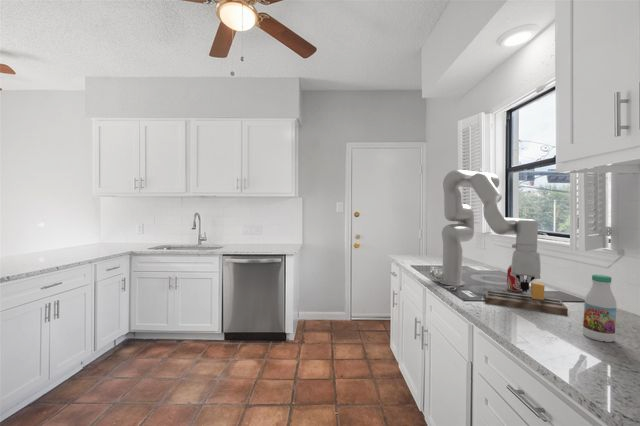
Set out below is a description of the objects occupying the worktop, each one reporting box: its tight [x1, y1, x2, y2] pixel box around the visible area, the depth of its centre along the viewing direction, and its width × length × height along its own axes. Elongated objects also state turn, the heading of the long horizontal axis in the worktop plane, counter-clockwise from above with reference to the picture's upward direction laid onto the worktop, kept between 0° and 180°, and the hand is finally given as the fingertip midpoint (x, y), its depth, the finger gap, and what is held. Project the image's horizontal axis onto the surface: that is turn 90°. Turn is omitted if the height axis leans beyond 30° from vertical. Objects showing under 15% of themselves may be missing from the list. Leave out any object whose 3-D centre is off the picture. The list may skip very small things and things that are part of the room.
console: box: [484, 289, 569, 316], centre depth 133 cm, size 28×14×3 cm, turn 62°
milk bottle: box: [582, 274, 618, 343], centre depth 100 cm, size 8×8×20 cm
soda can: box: [506, 265, 525, 293], centre depth 156 cm, size 7×7×12 cm
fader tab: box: [530, 281, 545, 301], centre depth 131 cm, size 4×5×7 cm
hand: (524, 291), depth 133 cm, fingers closed
